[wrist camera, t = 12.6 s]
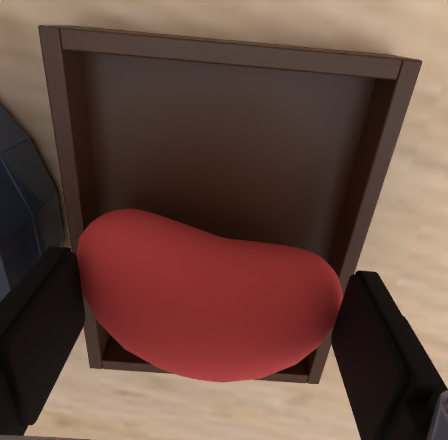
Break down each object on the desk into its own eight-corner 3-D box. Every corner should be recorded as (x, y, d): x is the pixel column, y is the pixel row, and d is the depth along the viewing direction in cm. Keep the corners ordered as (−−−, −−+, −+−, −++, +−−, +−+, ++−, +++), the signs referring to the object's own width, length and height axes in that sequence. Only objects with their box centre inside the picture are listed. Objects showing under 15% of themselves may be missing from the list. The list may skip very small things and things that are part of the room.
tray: (104, 333, 19) (89, 368, 17) (68, 25, 12) (37, 25, 10) (310, 349, 19) (318, 384, 17) (393, 55, 12) (423, 60, 10)
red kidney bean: (245, 321, 18) (333, 413, 13) (53, 310, 13) (63, 445, 8) (278, 226, 17) (386, 279, 12) (87, 180, 13) (121, 233, 7)
